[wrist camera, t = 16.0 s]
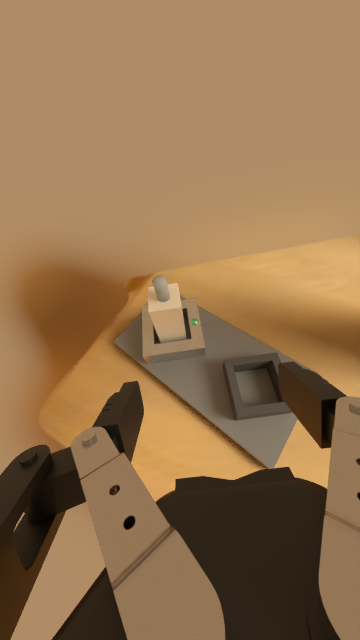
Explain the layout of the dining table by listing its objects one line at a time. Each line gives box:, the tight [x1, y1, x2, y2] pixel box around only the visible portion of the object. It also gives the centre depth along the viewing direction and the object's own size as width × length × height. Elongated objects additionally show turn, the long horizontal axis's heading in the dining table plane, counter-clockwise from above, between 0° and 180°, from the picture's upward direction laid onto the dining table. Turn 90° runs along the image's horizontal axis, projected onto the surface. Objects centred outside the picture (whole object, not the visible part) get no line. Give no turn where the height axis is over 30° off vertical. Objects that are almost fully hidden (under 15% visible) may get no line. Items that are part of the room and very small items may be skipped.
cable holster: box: [223, 352, 292, 421], centre depth 28 cm, size 7×7×3 cm
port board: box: [113, 296, 319, 469], centre depth 33 cm, size 14×28×2 cm, turn 52°
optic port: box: [142, 298, 205, 364], centre depth 33 cm, size 9×9×3 cm
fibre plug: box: [148, 275, 187, 343], centre depth 29 cm, size 4×4×13 cm
